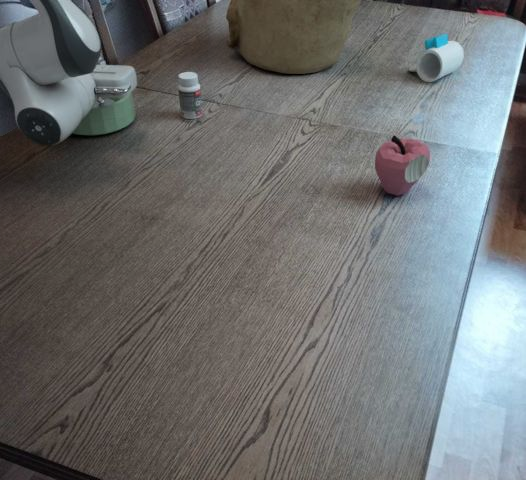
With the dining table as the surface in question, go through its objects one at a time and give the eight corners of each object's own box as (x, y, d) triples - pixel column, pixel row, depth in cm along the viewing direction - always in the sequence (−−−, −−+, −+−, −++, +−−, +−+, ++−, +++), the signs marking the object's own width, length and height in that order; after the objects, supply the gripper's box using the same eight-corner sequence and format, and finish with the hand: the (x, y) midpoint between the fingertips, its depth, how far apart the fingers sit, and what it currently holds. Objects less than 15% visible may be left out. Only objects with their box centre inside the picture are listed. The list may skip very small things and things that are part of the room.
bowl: (41, 124, 118) (33, 95, 114) (101, 99, 127) (95, 72, 123) (92, 146, 111) (85, 116, 107) (151, 118, 120) (147, 90, 116)
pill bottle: (201, 119, 120) (198, 79, 114) (179, 119, 120) (175, 79, 114) (203, 110, 123) (200, 71, 117) (182, 110, 123) (178, 71, 117)
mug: (466, 26, 133) (439, 37, 127) (470, 66, 138) (444, 79, 132) (423, 37, 142) (397, 48, 136) (428, 75, 146) (403, 87, 140)
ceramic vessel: (265, 26, 165) (265, -78, 147) (385, 59, 146) (403, -56, 128) (195, 51, 150) (187, -62, 132) (320, 92, 131) (329, -34, 112)
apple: (387, 208, 95) (397, 153, 88) (360, 185, 101) (368, 131, 93) (432, 196, 98) (445, 142, 91) (403, 174, 103) (414, 121, 96)
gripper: (123, 75, 99) (142, 49, 108) (13, 70, 100) (42, 45, 110) (129, 110, 103) (147, 82, 113) (24, 105, 104) (51, 78, 114)
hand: (94, 64), depth 111 cm, fingers closed
